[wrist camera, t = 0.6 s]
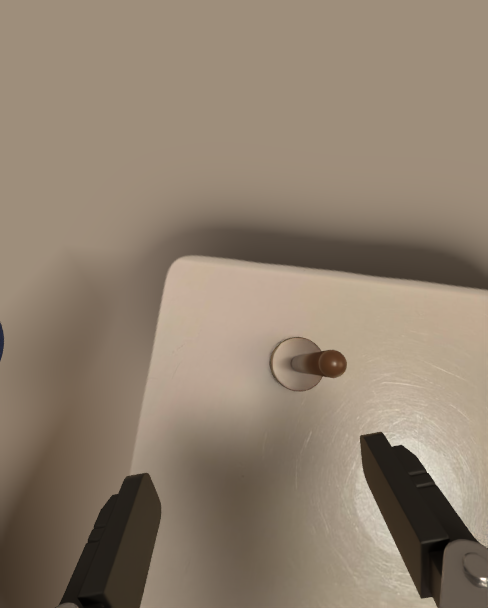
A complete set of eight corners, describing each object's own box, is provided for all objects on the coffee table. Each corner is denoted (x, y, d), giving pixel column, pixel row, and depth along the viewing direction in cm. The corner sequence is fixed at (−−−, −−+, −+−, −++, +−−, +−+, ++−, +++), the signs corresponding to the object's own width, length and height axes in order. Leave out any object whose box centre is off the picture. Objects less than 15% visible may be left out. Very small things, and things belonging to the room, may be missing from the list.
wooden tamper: (264, 380, 31) (278, 395, 16) (278, 332, 32) (303, 306, 17) (312, 396, 30) (371, 425, 16) (324, 347, 31) (392, 333, 17)
